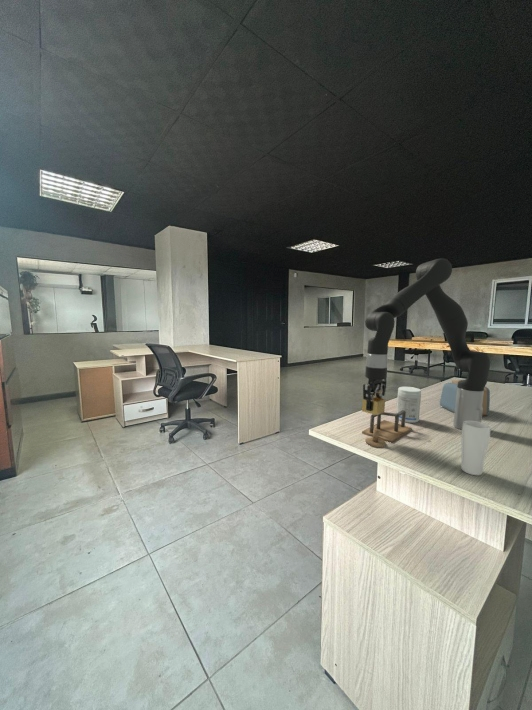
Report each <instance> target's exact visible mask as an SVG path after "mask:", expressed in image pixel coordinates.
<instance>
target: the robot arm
mask: <svg viewBox="0 0 532 710" xmlns="http://www.w3.org/2000/svg"><path fill="white" fill-rule="evenodd" d="M452 271H453V267H452V263H451V261H449V260H448V259H447V258H436V259H433V260H430V261H426V262H423V263H421V264H419V265H418V266H417V267H416V270H415V277H416V281H414V282H413V283H411V284H409V285H408V286H406V287H404V288H403V289H401V290H399V291H398V292H397V293H396V294H394V295H393V296H392V297H391V298H390V299H388V301H387V302H385V303H383V304H382V305H380V306H378V307H377V308H374V309H373V310H371V311H370V313H369V314H367V316H366V318H365V321H364V322H365V323H364V324H365V327H366V328H367V330H370V331H372V332H376V333H375V336H374V337H371V338H369V339H368V342H367V352H366V353H367V354H366V359H365V374H364V376H365V378H366V379H368V381H367V383H364V384H363V385H362V392H363V394H362V395H363V396H362V400H363V399H364V400H366V401H367V402H366V410H368V411H372V408H373V399H374V397H377V398H382V399H383V397H384V396H385V395H386V389H387V387H386V386H387V380H386V379H387V375H388V373H387V372H388V361H389V359H388V352H389V351H388V350H389V342H390V340H391V338H392V334H393V331H394V328H395V324H396V323H395V319H396V318H399V317H400V316H402V315H403V314H404V313H406V311H408V310H409V309H410V308H411V307H412V305H414V304H415V303H416V302H417V301H419V300H420V299H421V298H423V297H424V296H426V298H427V300H428V301H429V303H430V305H431V308H432V310H433V312H434V315H435V316H436V319H437V321H438V324H439V325H440V328H441V329H442V330H441V331H443V334H444V336H445V338H446V341H447V343H448V345H449V349H450V351H451V355H452V359H453V361H454V364H455V366H456V368H457V369H458V370H459V371H461V372H465V373H467V377H466V378H465V379H459V380H460V381H458V385H457V395H456V404H455V413H453V427H454V428H456V429H458V430H461V431H462V426H463V422H464V421H477V422H481V423H482V422H483V415H482V412H483V407H482V402H483V394H484V387H486V385H487V383H488V378H489V372H490V368H491V359H490V356H489V354H487V353H485V352H483V351H476V350H475V351H474V350H471V349H470V347H469V346H468V343H467V341H466V334H467V330H468V324H469V323H468V319H467V316H466V314H465V311H464V309H463V307H462V306H461V305H460V304H459V303H458V302H457V301H455V300H454V299H453V298H451V297H450V296H449V295H448V294H447V293H445V292H444V290H443V289H442V287H441V285H442V284H443V283H444V282H446V281H447V280H448V279H450V277H451V275H452Z"/></svg>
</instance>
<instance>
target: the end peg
mask: <svg viewBox="0 0 532 710" xmlns="http://www.w3.org/2000/svg"><path fill="white" fill-rule="evenodd" d="M365 442H366V443H367V444H368V445H367V444H366V443H365V444H366V445H367V446H369V445H370V447H372V446H374V447H373V448H378V447H381V448H384V446H385V447H386V444H387V443H386V441H384V440H382V439H379V431H378V430H373V437H372V436H369V437H366V438H365Z"/></svg>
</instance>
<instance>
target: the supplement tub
mask: <svg viewBox="0 0 532 710" xmlns="http://www.w3.org/2000/svg"><path fill="white" fill-rule="evenodd" d="M421 397H422V390H421V389H420V388H417V387H412V386H399V387H398V389H397V399H396V413H398V412H400V411H402V410H405V412H406V417H405V423H408V424H409V423H410V424H411V423H413V424H415V423H417V422H420V421H419V420H420V410H421V399H422V398H421ZM401 420H402V415H401V416H399V421H400V422H401Z"/></svg>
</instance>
